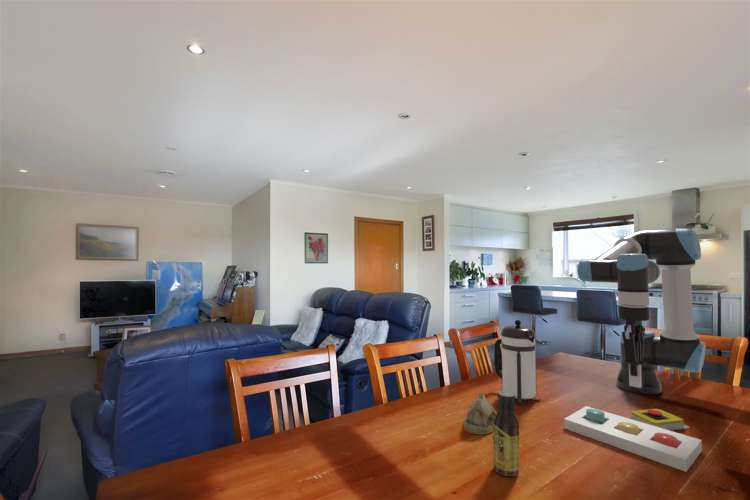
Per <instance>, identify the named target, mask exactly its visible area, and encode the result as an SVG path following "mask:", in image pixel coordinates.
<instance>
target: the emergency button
mask: <svg viewBox="0 0 750 500" xmlns="http://www.w3.org/2000/svg"><path fill="white" fill-rule="evenodd" d="M630 419H632V420H635V421H639V422H642V423H646V424H649V425H652V426H656V427H659V428H662V429H666V430H669V431H679V430H685V429H687V430H688V429H690V426H689V425H686V424H684V419H683V418H681V417H679V416H676V415H674V414H672V413H669V412H667V411H665V410H662V409H659V408H650V409H649V408H648V409H640V410H631V412H630Z"/></svg>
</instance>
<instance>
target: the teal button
mask: <svg viewBox="0 0 750 500" xmlns="http://www.w3.org/2000/svg"><path fill="white" fill-rule="evenodd" d="M600 410H601V409H598V410H597V408H595V409H587V410H586V419H587V420H590V421H593V422H596V423H599V424H603V423H605V413H604V412H602V411H603V410H601V411H600Z"/></svg>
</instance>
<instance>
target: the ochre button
mask: <svg viewBox="0 0 750 500" xmlns="http://www.w3.org/2000/svg"><path fill="white" fill-rule="evenodd" d="M618 430H621V431H624V432H627V433H630V434H633V435H636V436H637V435H638V434H639V427H638V426H637V425H635V424H633V423H629V422H619V423H618Z"/></svg>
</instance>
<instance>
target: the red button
mask: <svg viewBox="0 0 750 500" xmlns="http://www.w3.org/2000/svg"><path fill="white" fill-rule="evenodd" d="M655 442H658V443H661V444H664V445H667V446H670V447H673V448H677V447H678V439H677V438H676V437H674V436H672V435H669V434H665V433H655Z"/></svg>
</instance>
